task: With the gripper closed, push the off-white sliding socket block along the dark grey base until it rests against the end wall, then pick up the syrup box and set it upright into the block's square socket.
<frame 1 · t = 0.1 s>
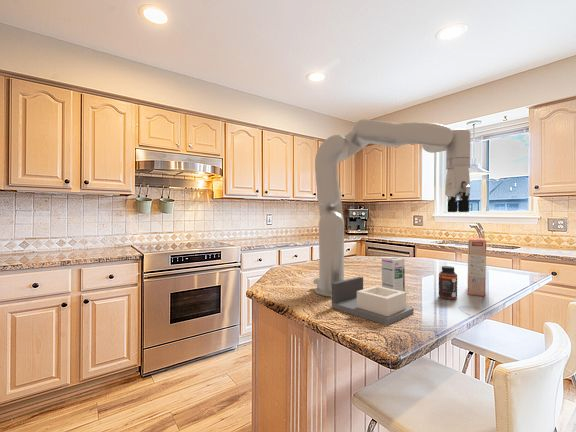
hand: (457, 212, 107), 31 cm above the countertop, tool pointing down, fingers open, 9 cm apart
supplement bottle: (447, 298, 108), on the countertop
slide base: (371, 310, 94), on the countertop
cracker box: (476, 292, 116), on the countertop
socket block: (381, 299, 91), point 4 cm above the countertop, slide at 0.0 cm
syrup box: (393, 298, 108), on the countertop
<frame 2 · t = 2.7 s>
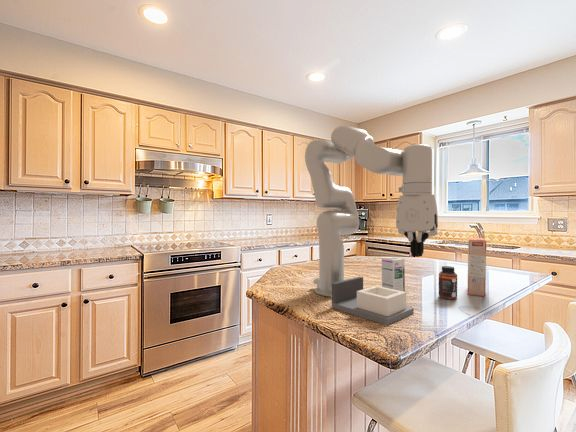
hand: (416, 256, 83), 19 cm above the countertop, tool pointing down, fingers closed
nothing on the countertop moved.
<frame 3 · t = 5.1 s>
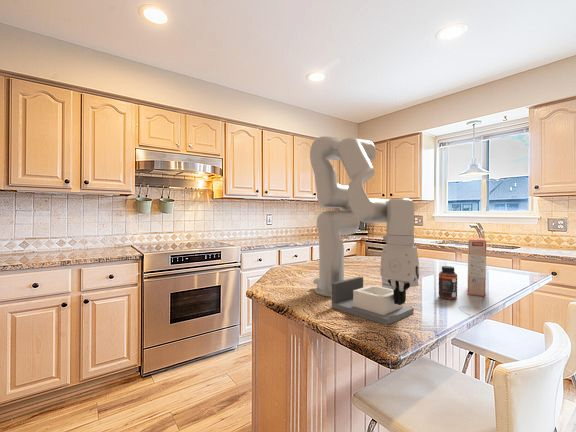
hand: (399, 303, 87), 4 cm above the countertop, tool pointing down, fingers closed
socket block: (377, 298, 92), point 4 cm above the countertop, slide at 1.3 cm, touching gripper
everything else where it was.
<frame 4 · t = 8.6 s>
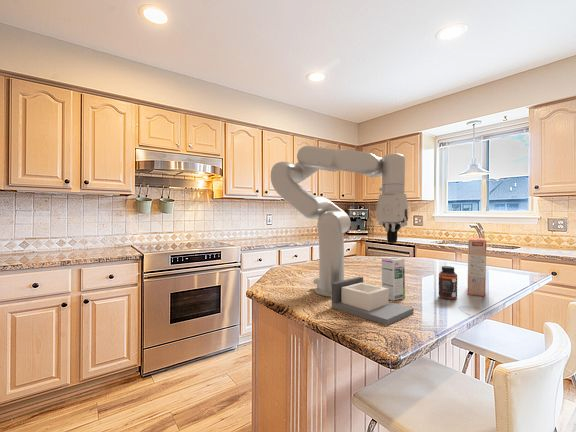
hand: (392, 242, 104), 20 cm above the countertop, tool pointing down, fingers closed
socket block: (364, 295, 96), point 4 cm above the countertop, slide at 6.0 cm
everything else where it was.
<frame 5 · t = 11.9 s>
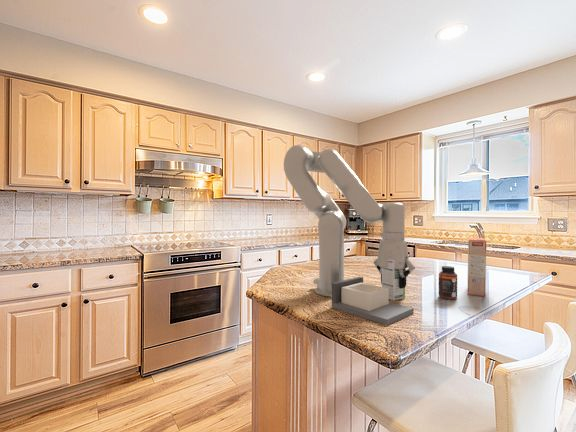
hand: (393, 285, 108), 4 cm above the countertop, tool pointing down, fingers closed on syrup box, 6 cm apart
syrup box: (393, 298, 108), on the countertop, touching gripper
everything else where it was.
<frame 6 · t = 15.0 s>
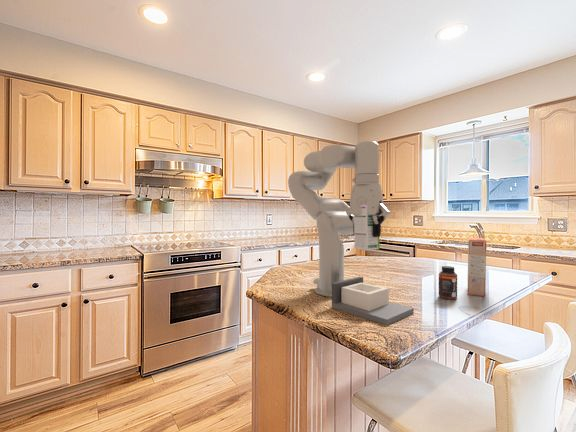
hand: (366, 235, 96), 24 cm above the countertop, tool pointing down, fingers closed on syrup box, 6 cm apart
syrup box: (366, 249, 96), point 19 cm above the countertop, touching gripper
everything else where it was.
when the fingers open (8 cm above the countertop, at t = 18.5 s): syrup box drops 1 cm, resting on socket block.
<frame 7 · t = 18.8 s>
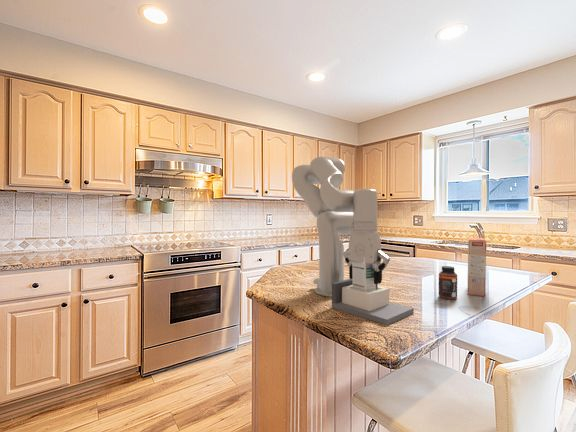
hand: (364, 280, 96), 9 cm above the countertop, tool pointing down, fingers open, 9 cm apart
socket block: (365, 295, 96), point 4 cm above the countertop, slide at 5.8 cm, touching syrup box
syrup box: (364, 300, 96), point 3 cm above the countertop, touching socket block
everything else where it was.
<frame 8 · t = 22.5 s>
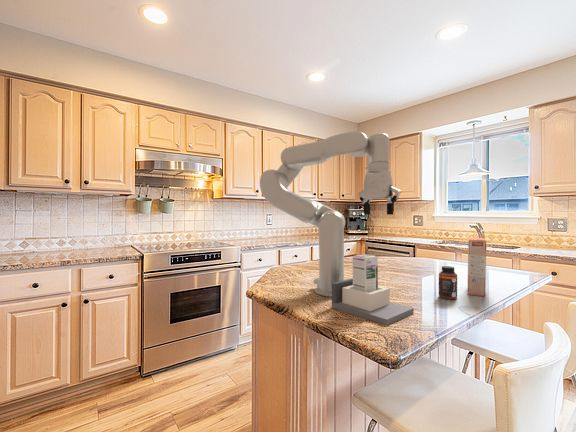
hand: (378, 214, 110), 30 cm above the countertop, tool pointing down, fingers open, 9 cm apart
nothing on the countertop moved.
at the end: socket block slide at 5.7 cm; syrup box 0.3 cm off-centre on the socket block, point 0.8 cm above the socket block's base; syrup box tilted 0° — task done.
